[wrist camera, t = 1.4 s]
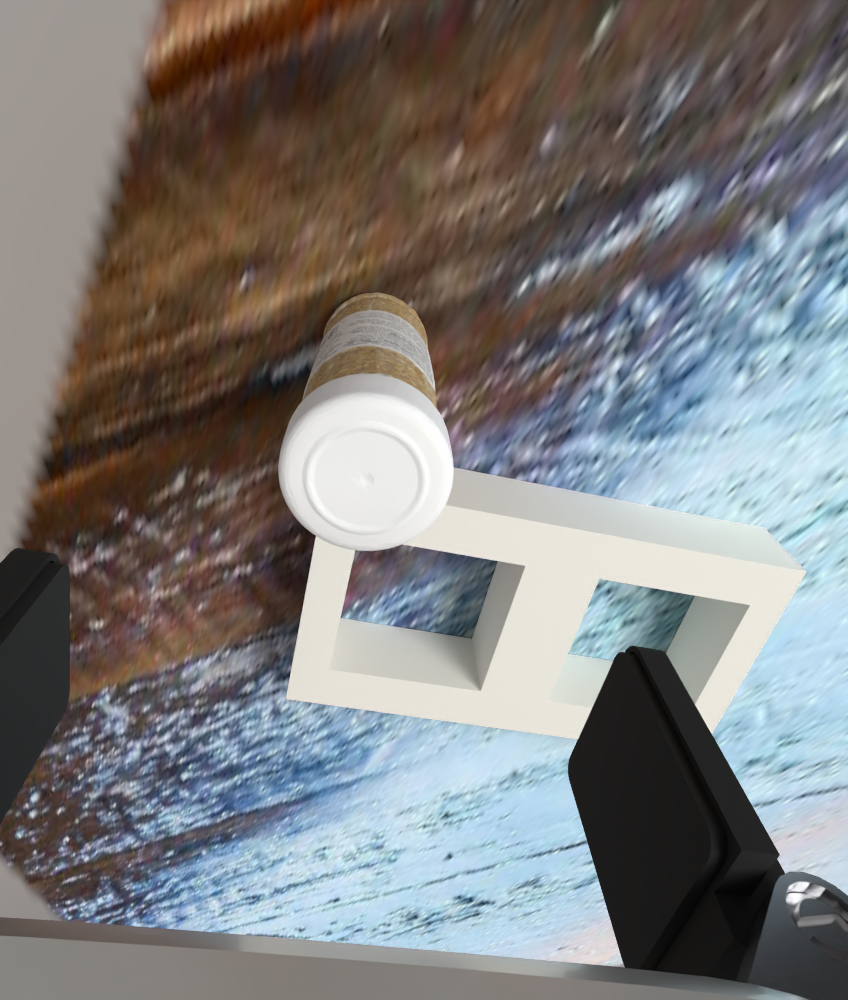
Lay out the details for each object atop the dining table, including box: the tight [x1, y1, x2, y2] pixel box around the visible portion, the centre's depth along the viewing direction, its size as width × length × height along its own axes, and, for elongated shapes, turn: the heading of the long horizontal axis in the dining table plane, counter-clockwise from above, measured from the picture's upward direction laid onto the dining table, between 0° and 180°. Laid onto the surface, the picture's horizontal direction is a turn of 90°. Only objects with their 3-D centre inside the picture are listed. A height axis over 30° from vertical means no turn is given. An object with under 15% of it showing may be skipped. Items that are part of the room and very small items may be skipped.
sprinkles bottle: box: [278, 292, 454, 551], centre depth 23 cm, size 5×5×14 cm
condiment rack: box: [286, 467, 806, 739], centre depth 34 cm, size 12×22×4 cm, turn 77°
